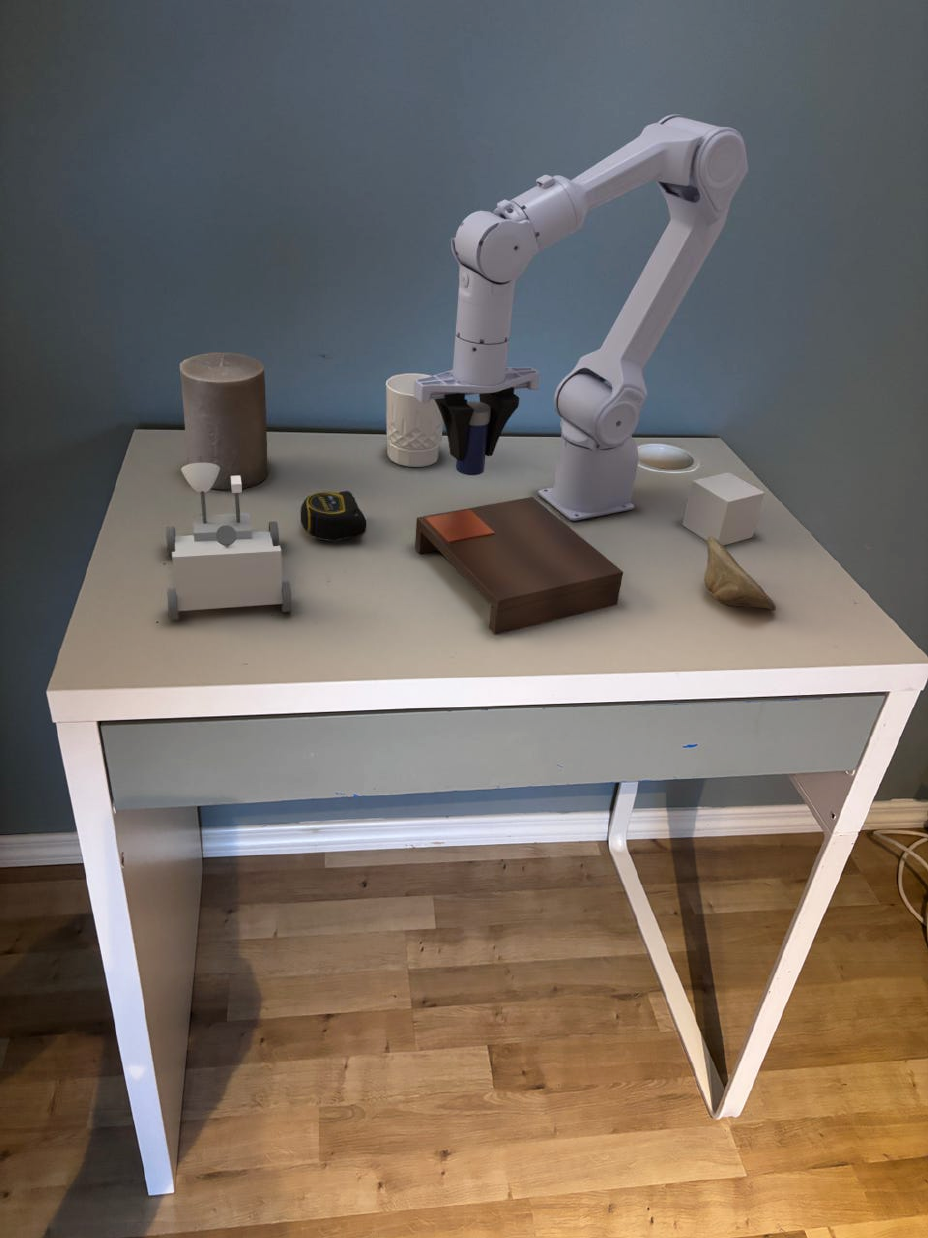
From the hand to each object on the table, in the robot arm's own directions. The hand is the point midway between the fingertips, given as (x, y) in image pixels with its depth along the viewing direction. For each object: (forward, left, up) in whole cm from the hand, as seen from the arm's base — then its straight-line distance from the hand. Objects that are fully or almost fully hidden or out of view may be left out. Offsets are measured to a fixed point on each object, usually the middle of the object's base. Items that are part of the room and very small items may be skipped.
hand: (471, 454), depth 111 cm
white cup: (-2, -19, -9) cm, 21 cm away
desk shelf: (+1, +12, -9) cm, 15 cm away
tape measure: (+15, -4, -9) cm, 18 cm away
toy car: (+29, +1, -9) cm, 30 cm away
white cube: (-28, +12, -9) cm, 32 cm away
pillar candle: (+22, -22, -9) cm, 32 cm away
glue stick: (0, 0, -2) cm, 2 cm away
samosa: (-19, +25, -9) cm, 33 cm away
